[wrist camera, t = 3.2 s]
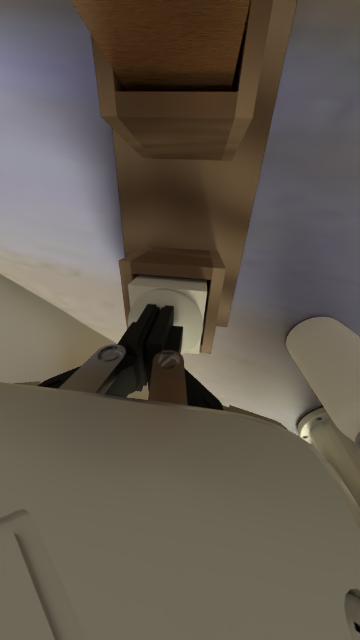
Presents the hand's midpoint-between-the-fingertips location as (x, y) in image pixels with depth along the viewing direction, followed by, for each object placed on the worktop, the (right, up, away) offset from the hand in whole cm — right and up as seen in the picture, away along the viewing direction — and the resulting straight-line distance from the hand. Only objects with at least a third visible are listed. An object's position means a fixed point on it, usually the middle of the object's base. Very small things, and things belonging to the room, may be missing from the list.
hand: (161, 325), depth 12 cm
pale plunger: (+1, +4, +7) cm, 8 cm away
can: (+18, -2, +11) cm, 21 cm away
